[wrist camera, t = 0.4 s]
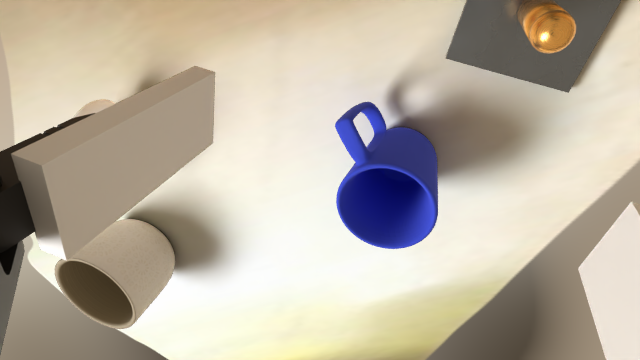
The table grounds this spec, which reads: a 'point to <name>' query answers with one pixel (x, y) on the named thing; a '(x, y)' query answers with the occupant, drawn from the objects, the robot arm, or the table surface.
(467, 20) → the keeper
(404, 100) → the table surface
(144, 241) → the planter
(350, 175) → the mug
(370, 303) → the table surface
